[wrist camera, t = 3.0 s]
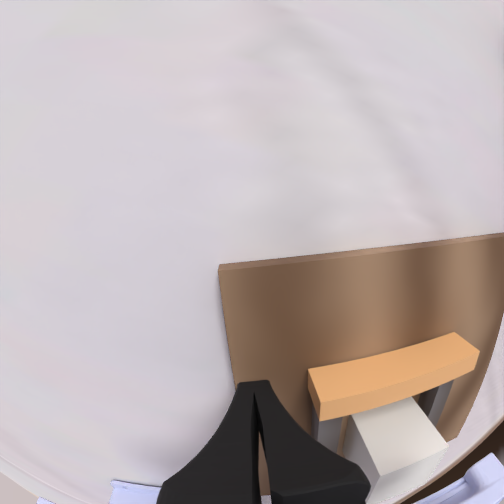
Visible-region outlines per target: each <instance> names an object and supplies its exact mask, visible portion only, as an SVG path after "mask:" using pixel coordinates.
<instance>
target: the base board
mask: <svg viewBox="0 0 504 504" xmlns="http://www.w3.org/2000/svg"><path fill="white" fill-rule="evenodd" d="M218 275H219V283H220V290H221V298H222V305H223V312H224V319H225V326H226V333H227V339H228V346H229V352H230V358H231V365H232V371H233V377H234V383H235V389H236V388H237V384H238V383H239V382H248V381H258V380H268V381H270V384H271V386H272V389H273V391H274V392H275V394H276V396H277V397H278V399H279V401H280V402H281V403H282V405H283V406H284V408H285V409H286V410H287V412H288V413H289V414H290V415H291V416H292V418H293V419H294V420H295V421H296V422H297V423H298V424H299V425H300V426H301V427H302V428H303V429H304V430H305V431H306V432H307V433H308V434H309V435H311V436H312V437H313V438H314V439H315V440H317V441H318V442H320V443H321V444H322V445H324V446H325V447H327V448H328V449H330V450H331V451H333V452H334V453H336V454H338V455H340V456H341V457H343V458H345V456H344V453H343V451H342V450H343V445H344V440H345V435H346V429H347V424H348V418H349V415H347V416H343V417H338V418H334V419H329V420H324V421H319V419H318V416H317V413H316V410H315V407H314V404H313V401H312V398H311V396H310V393H309V390H308V369H310V368H316V367H322V366H327V365H332V364H338V363H343V362H348V361H352V360H357V359H361V358H366V357H370V356H374V355H378V354H382V353H386V352H390V351H394V350H398V349H401V348H405V347H408V346H412V345H415V344H419V343H422V342H425V341H428V340H431V339H435V338H438V337H441V336H444V335H447V334H449V333H452V332H455V333H457V334H458V335H459V336H461V337H462V338H463V339H465V340H466V341H467V342H469V343H470V344H471V345H473V346H474V347H475V348H477V349H478V350H479V351H480V353H479V356H478V359H477V362H476V365H475V368H474V370H472V371H470V372H468V373H466V374H464V375H462V376H460V377H458V378H455V379H453V380H451V381H449V382H446V383H444V384H442V385H439V386H437V387H435V388H432V389H430V390H427V391H424V392H422V393H419V394H416V395H414V396H412V398H413V399H414V400H415V402H416V403H417V404H418V406H419V407H420V408H421V409H422V411H423V412H424V413H425V415H426V416H427V417H428V419H429V420H430V421H431V423H432V424H433V425H434V427H435V428H436V429H437V431H438V432H439V433H440V435H441V436H442V437H443V439H444V440H445V441H446V443H447V442H448V441H450V440H452V439H454V438H456V437H457V436H458V434H459V432H460V430H461V428H462V426H463V425H464V423H465V421H466V418H467V416H468V414H469V412H470V410H471V408H472V406H473V403H474V401H475V399H476V397H477V394H478V392H479V389H480V387H481V384H482V382H483V379H484V377H485V374H486V371H487V368H488V365H489V363H490V360H491V357H492V353H493V350H494V347H495V344H496V340H497V337H498V333H499V329H500V325H501V321H502V317H503V313H504V233H496V234H488V235H480V236H472V237H464V238H456V239H448V240H439V241H431V242H422V243H414V244H405V245H397V246H388V247H379V248H370V249H361V250H353V251H343V252H334V253H325V254H316V255H307V256H297V257H288V258H278V259H269V260H259V261H249V262H239V263H229V264H220V265H219V268H218ZM258 469H259V484H260V494H261V496H263V495H271V493H270V485H269V476H268V468H267V463H266V459H265V455H264V450H263V446H262V441H261V437H260V432H259V467H258Z"/></svg>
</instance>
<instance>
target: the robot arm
mask: <svg viewBox="0 0 504 504" xmlns="http://www.w3.org/2000/svg"><path fill="white" fill-rule="evenodd" d="M259 432H260V437H261V441H262V446H263V450H264V455H265V459H266V463H267V468H268V476H269V485H270V493H271V501H272V504H366V502H365V500H366V498H367V496H368V494H369V492H370V490H371V485H370V482H369V480H368V478H367V476H366V475H365V473H364V472H363V470H362V469H361V468H360V467H359V465H358V464H356V463H354V462H352V461H349V460H347V459H345V458H343V457H341V456H340V455H338V454H336V453H334V452H333V451H331V450H330V449H328V448H327V447H325V446H324V445H322V444H321V443H320V442H318V441H317V440H315V439H314V438H313V437H312V436H311V435H309V434H308V433H307V432H306V431H305V430H304V429H303V428H302V427H301V426H300V425H299V424H298V423H297V422H296V421H295V420H294V419H293V418H292V416H291V415H290V414H289V413H288V412H287V410H286V409H285V408H284V406H283V405H282V403H281V402H280V401H279V399H278V397H277V396H276V394H275V392H274V391H273V389H272V386H271V384H270V381H268V380H258V381H248V382H239V383H238V384H237V388H236V392H235V395H234V397H233V400H232V403H231V405H230V407H229V409H228V411H227V413H226V415H225V417H224V419H223V421H222V422H221V424H220V426H219V428H218V429H217V431H216V432H215V434H214V435H213V436H212V438H211V439H210V440H209V442H208V443H207V444H206V445H205V447H204V448H203V449H202V450H201V451H200V452H199V453H198V454H197V456H196V457H194V458H193V459H192V460H191V461H190V462H189V463H188V464H187V465H186V466H185V467H184V468H182V469H181V470H180V471H179V472H177V473H176V474H175V475H173V476H172V477H170V478H169V479H168V480H166V481H165V482H164V483H163V485H162V487H153V486H145V485H138V484H132V483H126V482H121V481H116V480H112V481H111V483H110V484H111V485H112V487H113V488H114V489H113V492H112V495H111V498H110V501H109V504H262V503H261V494H260V484H259V469H258V467H259ZM503 499H504V467H503V465H502V464H501V463H500V461H499V460H498V459H497V458H496V457H495V456H494V454H493V453H490V454H489V455H487V456H486V457H484V458H483V459H482V460H480V461H478V462H477V463H476V464H474V465H473V466H472V467H471V468H470V469H469V470H468V471H467V472H466V474H465V475H464V477H463V478H461V479H459V480H457V481H456V482H454V483H452V484H451V485H449V486H447V487H445V488H444V489H442V490H440V491H438V492H436V493H434V494H432V495H430V496H428V497H426V498H424V499H422V500H420V501H418V502H415V503H413V504H499V503H500V502H501V501H502V500H503ZM36 504H56V503H53V502H51V501H49V500H46V499H44V498H42V497H39V499H38V501H37V503H36Z"/></svg>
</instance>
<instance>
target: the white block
mask: <svg viewBox="0 0 504 504" xmlns="http://www.w3.org/2000/svg"><path fill="white" fill-rule="evenodd" d="M448 447H449V445H448V444H447V443H446V441H445V440H444V439H443V437H442V436H441V435H440V433H439V432H438V431H437V429H436V428H435V427H434V425H433V424H432V423H431V421H430V420H429V419H428V417H427V416H426V415H425V413H424V412H423V411H422V409H421V408H420V407H419V406H418V404H417V403H416V402H415V400H414V399H413V398H412V396H411V397H408V398H405V399H402V400H399V401H396V402H393V403H390V404H387V405H384V406H380V407H377V408H374V409H370V410H366V411H363V412H359V413H355V414H351V415H349V418H348V424H347V429H346V435H345V440H344V445H343V450H342V451H343V453H344V456H345V459H347V460H349V461H352V462H354V463H356V464H358V465H359V467H360V468H361V469H362V470H363V472H364V473H365V475H366V476H367V478H368V480H369V482H370V485H371V490H370V492H369V494H368V496H367V498H366V500H365V502H366V504H377V503H380V502H383V501H386V500H389V499H391V498H394V497H396V496H399V495H401V494H404V493H406V492H408V491H411V490H413V489H415V488H418V487H420V486H422V485H424V484H426V482H427V481H428V479H429V478H430V476H431V475H432V473H433V472H434V470H435V469H436V467H437V466H438V464H439V462H440V461H441V459H442V458H443V456H444V454H445V453H446V451H447V449H448Z"/></svg>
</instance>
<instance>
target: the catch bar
mask: <svg viewBox="0 0 504 504" xmlns="http://www.w3.org/2000/svg"><path fill="white" fill-rule="evenodd" d="M479 353H480V351H479V350H478V349H477V348H475V347H474V346H473V345H471V344H470V343H469V342H467V341H466V340H465V339H463V338H462V337H461V336H459V335H458V334H457V333H455V332H452V333H449V334H447V335H444V336H441V337H438V338H435V339H431V340H428V341H425V342H422V343H419V344H415V345H412V346H408V347H405V348H401V349H398V350H394V351H390V352H386V353H382V354H378V355H374V356H370V357H366V358H361V359H357V360H352V361H348V362H343V363H338V364H332V365H327V366H322V367H316V368H310V369H308V390H309V393H310V396H311V398H312V401H313V404H314V407H315V410H316V413H317V416H318V419H319V421H324V420H329V419H334V418H338V417H343V416H347V415H351V414H355V413H359V412H363V411H366V410H370V409H374V408H377V407H380V406H384V405H387V404H390V403H393V402H396V401H399V400H402V399H405V398H408V397H411V396H414V395H416V394H419V393H422V392H424V391H427V390H430V389H432V388H435V387H437V386H439V385H442V384H444V383H446V382H449V381H451V380H453V379H455V378H458V377H460V376H462V375H464V374H466V373H468V372H470V371H472V370H474V368H475V365H476V362H477V359H478V356H479Z"/></svg>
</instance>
